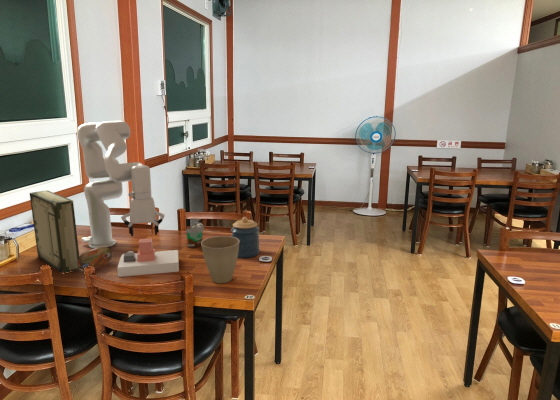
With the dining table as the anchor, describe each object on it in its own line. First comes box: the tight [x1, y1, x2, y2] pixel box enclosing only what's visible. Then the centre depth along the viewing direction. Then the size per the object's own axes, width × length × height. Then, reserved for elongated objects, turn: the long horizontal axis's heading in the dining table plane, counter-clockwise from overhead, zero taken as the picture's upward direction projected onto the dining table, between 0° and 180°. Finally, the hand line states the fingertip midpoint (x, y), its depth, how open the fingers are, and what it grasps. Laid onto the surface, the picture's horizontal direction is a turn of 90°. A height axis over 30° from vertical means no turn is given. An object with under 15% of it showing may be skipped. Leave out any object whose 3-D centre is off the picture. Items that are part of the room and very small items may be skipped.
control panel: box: [29, 190, 82, 274], centre depth 190 cm, size 30×8×30 cm, turn 45°
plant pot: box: [200, 235, 240, 284], centre depth 173 cm, size 15×15×16 cm
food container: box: [185, 221, 205, 249], centre depth 216 cm, size 12×6×10 cm, turn 168°
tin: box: [78, 247, 113, 271], centre depth 187 cm, size 15×3×8 cm, turn 148°
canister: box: [230, 216, 261, 259], centre depth 202 cm, size 13×13×18 cm
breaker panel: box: [117, 249, 180, 278], centre depth 188 cm, size 24×16×6 cm, turn 103°
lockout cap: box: [137, 238, 156, 262], centre depth 186 cm, size 7×7×8 cm
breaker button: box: [123, 251, 136, 262], centre depth 186 cm, size 4×4×4 cm
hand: (144, 234), depth 185 cm, fingers open, 9 cm apart
